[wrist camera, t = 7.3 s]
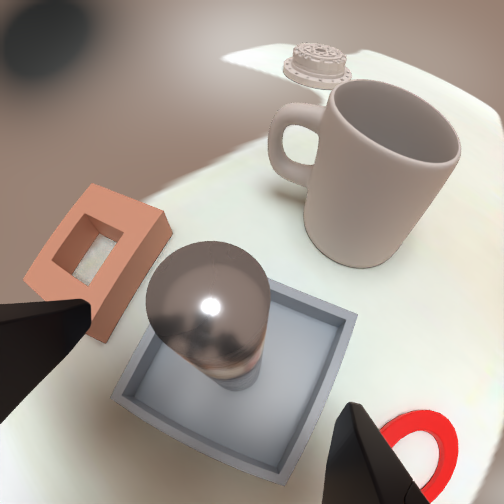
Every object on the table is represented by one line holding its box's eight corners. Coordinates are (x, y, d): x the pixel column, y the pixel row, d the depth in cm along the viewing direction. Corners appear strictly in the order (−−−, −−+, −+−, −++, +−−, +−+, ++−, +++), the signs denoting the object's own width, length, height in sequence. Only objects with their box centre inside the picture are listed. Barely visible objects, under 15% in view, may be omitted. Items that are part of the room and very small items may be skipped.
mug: (402, 203, 24) (453, 110, 15) (391, 284, 20) (472, 193, 11) (282, 161, 26) (291, 54, 17) (245, 232, 23) (241, 110, 13)
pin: (236, 401, 16) (205, 386, 6) (201, 368, 17) (123, 295, 7) (270, 366, 17) (296, 291, 7) (235, 335, 18) (209, 221, 8)
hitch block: (105, 343, 18) (84, 333, 16) (43, 294, 20) (22, 279, 17) (173, 233, 23) (163, 210, 20) (104, 204, 24) (92, 183, 22)
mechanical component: (320, 98, 33) (362, 83, 36) (325, 69, 29) (368, 59, 32) (268, 70, 37) (314, 58, 40) (269, 45, 33) (317, 36, 36)
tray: (280, 475, 14) (284, 486, 12) (126, 399, 16) (109, 397, 14) (346, 324, 19) (358, 314, 17) (200, 264, 21) (195, 247, 19)
